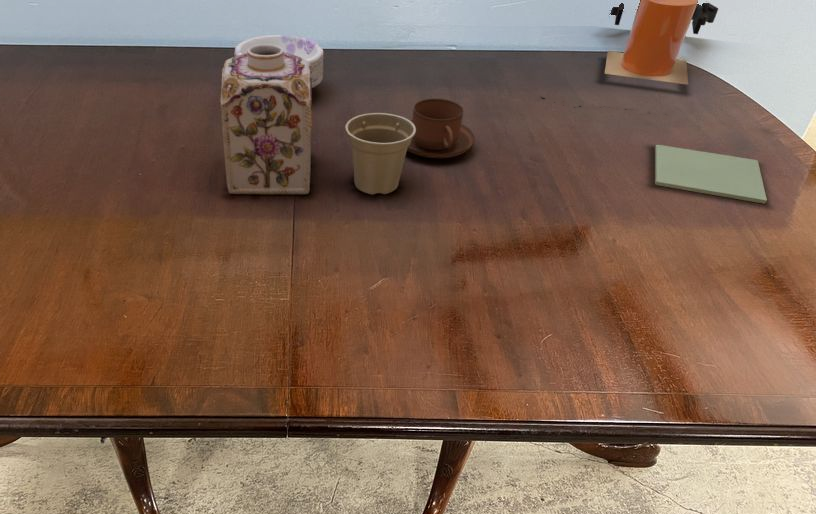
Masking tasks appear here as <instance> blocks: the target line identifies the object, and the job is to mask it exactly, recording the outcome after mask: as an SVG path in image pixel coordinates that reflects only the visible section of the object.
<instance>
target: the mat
mask: <svg viewBox="0 0 816 514" xmlns="http://www.w3.org/2000/svg"><path fill="white" fill-rule="evenodd" d="M654 185H655V186H659V187H665V188H671V189H676V190H683V191H689V192H693V193H700V194H704V195H705V194H706V195H711V196H716V197H717V196H718V197H722V198H729V199H735V200H739V201H746V202H753V203H758V204H763V205H764V204H766V203H767V201H768V198H767V194H766V190H765V186H764V182H763V177H762V172H761V169H760V165H759V161H758V159H752V158H746V157H739V156H733V155H727V154H720V153H714V152H708V151H701V150H694V149H689V148H682V147H675V146H670V145H663V144H656V145H655V147H654Z"/></svg>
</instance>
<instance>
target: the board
mask: <svg viewBox="0 0 816 514" xmlns="http://www.w3.org/2000/svg"><path fill="white" fill-rule="evenodd" d="M623 54H624V52H621V51H612V50H607V54H606V62H605V67H604V74H605V75H613V76H619V77H627V78H636V79H643V80H650V81H658V82H664V83H665V82H667V83H674V84H681V85H689V77H688V66H687V60H685V59H677V60H676V63H675V65H674V68H673V71H672V72H671V73H670V74H668V75H664V76H646V75H640V74H636V73H633V72H630V71H628V70H626V69H624V68H623V67H622V66H621V60H622V57H623Z"/></svg>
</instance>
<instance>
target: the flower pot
mask: <svg viewBox="0 0 816 514" xmlns="http://www.w3.org/2000/svg"><path fill="white" fill-rule="evenodd" d="M344 127H345V128H344V129H345V133H346V134H347V136H348V142H349V143H350V149H351V159H352V168H353V182H354V185H355V187H356V188H357V190H359V191H361V192H362V193H365V194H368V195H375V194H382V195H388V194H390V193H392V192H394V191H395V190H396V189H397V188H398V186H399V183H400V180H401V174H402V170H403V168H404V167H403V166H404V162H405V160H406V159H405V158H406V155H407V152H408V151H407V148H408V146H409V145H410V143H411V139H412V138H413V137H414V135H415V133H416V127H415V125H414V124H413V123H412V122H411V120H410V119H408V118H406V117H405V116H404V117H403V116H402V115H397V114H395V113H394V114H393V113H387V112H371V113H369V112H368V113H363V114H359V115H356V116H354V117H352V118H350V119H349V120H348V121H347V122H346V124H345V126H344Z"/></svg>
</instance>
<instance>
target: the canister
mask: <svg viewBox="0 0 816 514" xmlns="http://www.w3.org/2000/svg"><path fill="white" fill-rule="evenodd" d="M697 3H698V0H640V3H639V6H638V9H637V10H636V13H635V15H634V19H633V22H632V25H631V28H630V32H629V34H628V38H627V41H626V44H625V47H624V51H623V53H624V54H623V57H622V60H621V66H622V67H623V68H624V69H626V70H628V71H630V72H633V73H636V74H640V75H646V76H664V75H668V74H670V73H671V72H672V71H673V68H674V65H675V63H676V60H678V57H679V54H680V51H681V49H682V46H683V44H684V41H685V38H686V35H687V33H688V30H689V28H690V25H691V23H692V20H691V19H692V17H693V14H694V11H695V9H696V6H697Z"/></svg>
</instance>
